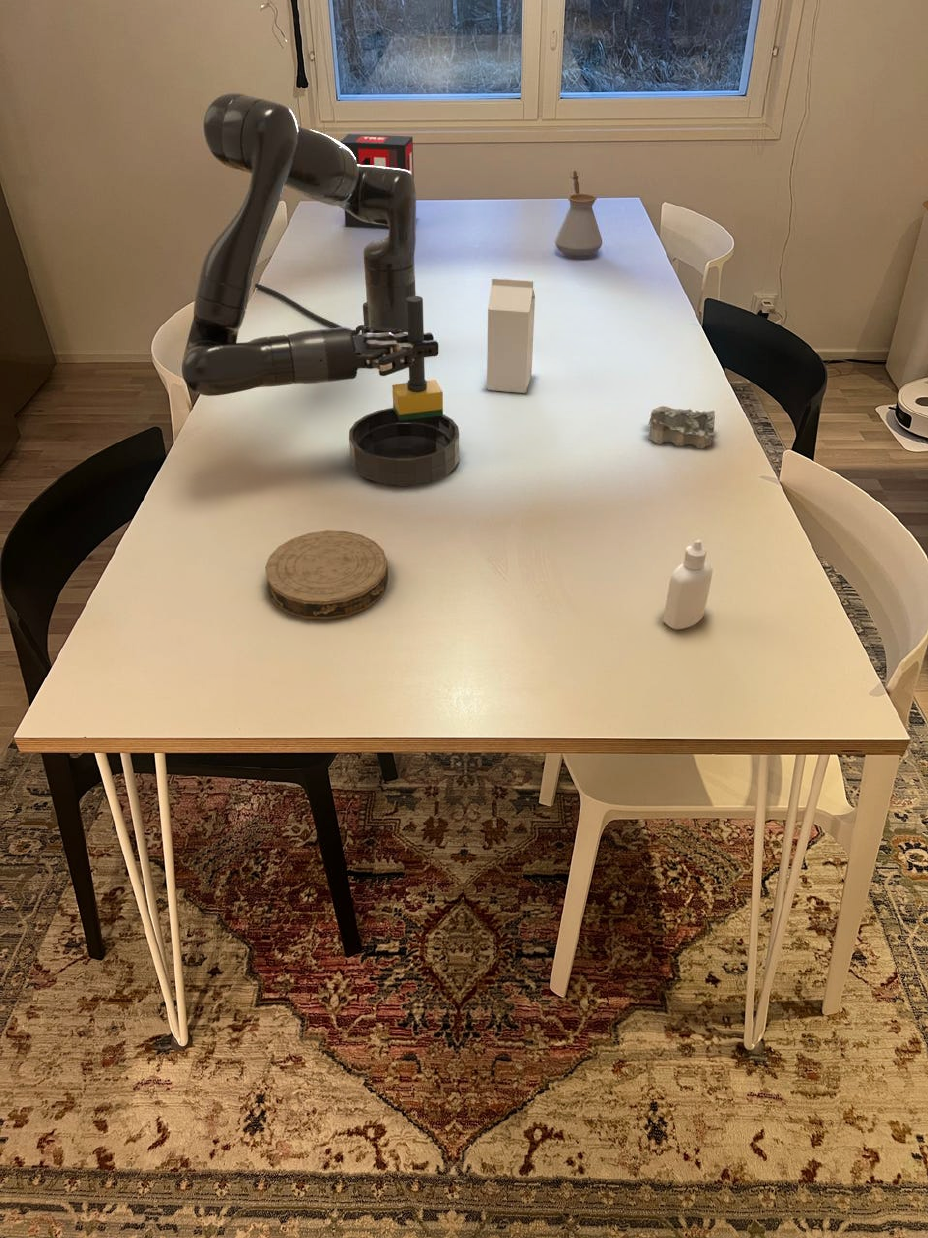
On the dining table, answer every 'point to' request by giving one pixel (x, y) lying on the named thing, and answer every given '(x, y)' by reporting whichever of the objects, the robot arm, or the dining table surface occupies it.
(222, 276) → the robot arm
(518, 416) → the dining table surface
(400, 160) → the cleaning product box
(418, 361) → the sponge wand
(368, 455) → the bowl
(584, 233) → the coffee pot
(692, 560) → the eye dropper bottle
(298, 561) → the wood slice
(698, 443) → the egg carton
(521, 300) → the milk carton
